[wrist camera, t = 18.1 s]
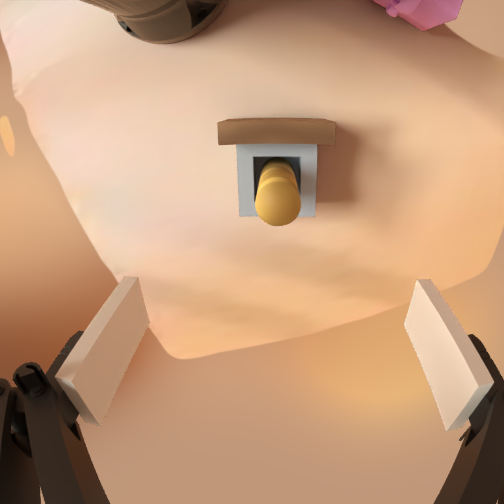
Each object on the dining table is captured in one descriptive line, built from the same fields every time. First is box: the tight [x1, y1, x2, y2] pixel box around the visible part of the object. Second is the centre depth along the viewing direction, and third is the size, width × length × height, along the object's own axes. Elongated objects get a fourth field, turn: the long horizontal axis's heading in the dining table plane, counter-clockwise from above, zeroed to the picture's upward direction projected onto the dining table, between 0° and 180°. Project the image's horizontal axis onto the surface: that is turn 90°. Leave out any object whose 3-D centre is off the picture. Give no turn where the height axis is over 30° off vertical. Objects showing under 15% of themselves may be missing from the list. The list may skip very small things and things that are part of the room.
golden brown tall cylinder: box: [255, 157, 301, 226], centre depth 33 cm, size 4×4×13 cm
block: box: [236, 144, 317, 217], centre depth 37 cm, size 9×9×5 cm
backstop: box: [217, 118, 336, 145], centre depth 33 cm, size 2×12×8 cm, turn 91°
